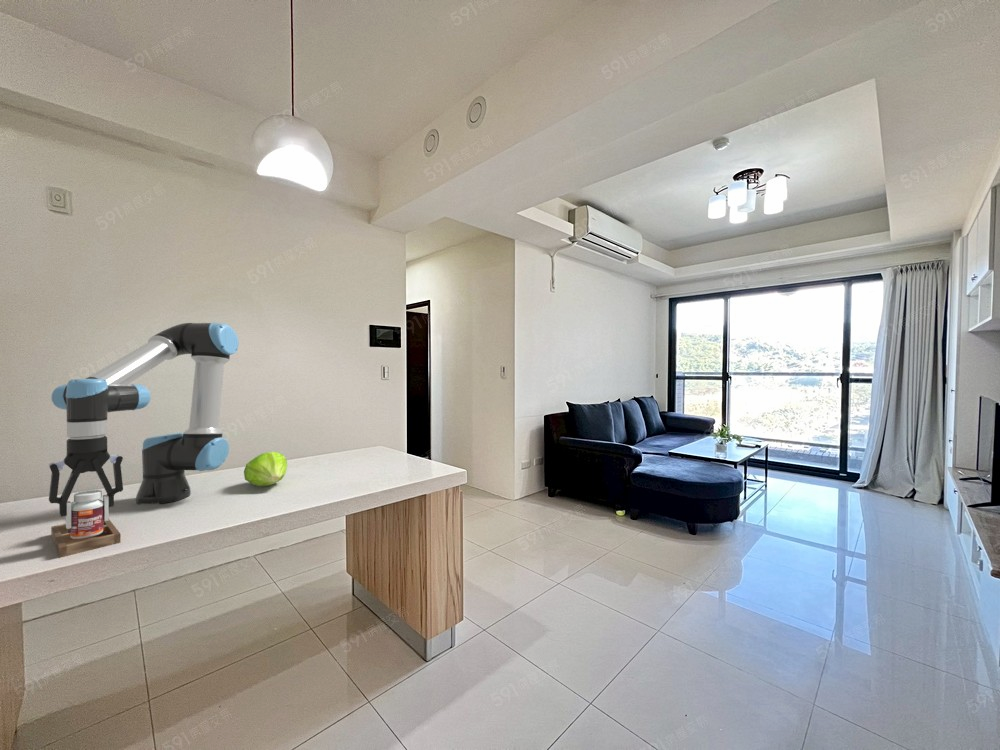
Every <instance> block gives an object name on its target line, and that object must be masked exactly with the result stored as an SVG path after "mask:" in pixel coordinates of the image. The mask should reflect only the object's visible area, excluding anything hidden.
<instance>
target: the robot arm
mask: <svg viewBox="0 0 1000 750" xmlns="http://www.w3.org/2000/svg"><path fill="white" fill-rule="evenodd" d="M238 337H239V336H238V335H237V332H235V330H234V328H232V327H231V326H230V325H228V324H226V323H219V322H197V323H196V322H185V323H180V324H176V325H174V326H171V327H168V328H165V329H164V330H162V331H160V332H158V333H156V334H154V335H152V336H151V337H149V339H148V341H147V343H145V344H143V345H141V346H139V347H138V348H136V349H134V350H133V351H131V352H129V353H128V354H126V355H124V356H122V357H120V358H119V359H117V360H115V361H114V362H112V363H110V364H108V365H106V366H104V367H103V368H102V369H100V370H98V371H96V372H95V373H92V374H91V375H89V376H88V377H86V378H72V379H70V380H68V382H67V384H61V385H58V386H57V387H56V388H54V389H53V391H52V393H51V402H52V404H53V405H54V406H55V407H56V408H58V409H61V410H66V437H68V439H67V440H66V455H65V458H63V460H62V461H58V462H51V463H49V464H48V467H49V469H50V471H51V475H50V476H51V477H50V483H49V484H50V485H49V493H48V502H49V503H50V504H58V505H59V507H58V508H59V516H60V517H65V524H66V528H67V529H70V528H71V501H70V500H69V499H70V496H71V494H72V491H73V490H74V487H75V485H76V482H77V481H78V478H79V477H80V474H83V473H84V474H85V473H88V472H89V473H90V472H91V473H92V472H95V473H96V474H97V476H98V478H99V480H100V482H101V484H102V487H103V489H104V491H105V492H106V494H103V495H102V501H103V502H104V521H108V520H110V517H109V513H110V512H109V511H110V509H109V508H113V507H114V505H115V495H116V494H117V493H121V492H123V490H124V485H123V475H122V474H123V473H122V465H121V464H122V461H123V459H124V457H123V455H120V454H118V455H113V454H112V455H111V454H110V453H109V452H108V437H107V436H106V435H107V434H108V413H111V412H123V411H124V412H125V411H135V410H140V409H144V408H145V407H147V406H148V405H149V403H150V402H151V392H150V390H149V389H148V388H147V387H146V386H145V385H143V384H135V383H134V384H133V383H132V382H133V381H135V380H136V379H138V378H140V377H142V376H143V375H145V374H146V373H148V372H149V371H150V370H153V368H156V366H158V365H161V364H162V363H163V362H165V361H167V360H169V361H170V360H173V359H175V358H177V357H179V356H183V355H190V357H191V359H192V360H193V361H194V362H195V366H194V376H193V377H194V378H193V387H192V396H191V407H190V415H189V423H188V424H189V427H188V428H187V429H186V430H185V431H183V432H177V433H167V434H163V435H162V434H160V435H156V436H155V435H154V436H150V437H147V438H145V439H144V440H143V442H142V449H141V453H142V455H141V456H142V458H141V459H142V461H141V462H142V480H141V484H140V486H139V488H138V491H137V493H136V497H135V503H136V504H137V505H142V504H143V505H149V504H150V505H151V504H152V505H153V504H159V505H161V504H167V503H173V502H176V501H180V500H184V499H185V498H188V497H190V496H191V494H192V493H191V492H192V491H191V489H192V488H191V486H190V484H189V481H188V479H187V477H186V475H185V474H186V473H185V471H199V472H205V471H213V470H216V469H218V468H219V467H221V466H222V465H223V463H225V461H226V460H227V459H228V456H229V452H230V445H229V442H228V440H227V439H226V438H225V437H224V438H223V435H224V434H223V431H222V430H220V428H219V423H220V412H221V402H222V392H223V382H224V381H223V380H224V371H225V370H224V369H225V364H226V363H228V362H230V358H231V357H230V356H232V355H234V354H236V352H237V351H238V349H239V338H238ZM131 383H132V384H131ZM109 460H110V463H111V464H112V469H113V478H114V487H112V485H111V483H110V481H109V479H108V477H107V475H106V473H105V471H104V468H103V466H104V465H105V464H106V463H107V462H108V461H109ZM64 466H67V467H68V468H70V469H71V472H70V474H69V477H68V480H67V482H66V484H65V486H64V488H63V491H62V493H61V495H60V497H58V492H59V484H60V475H61V474H60V471H62V470H63V469H64Z"/></svg>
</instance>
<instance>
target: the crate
mask: <svg viewBox="0 0 1000 750" xmlns="http://www.w3.org/2000/svg"><path fill="white" fill-rule="evenodd" d="M50 527H51V528H50V531H51V532H50V533H51V534H50V535H51V539H52V540H53V541H52V542H53V544H54V546H55V548H56V551H57V555H58V557H59V559H60V558H65V557H68V556H72V555H73V556H74V555H76V554H80V553H84V552H88V551H94V550H97V549H100V548H105V547H108V546H112V545H113V546H114V545H116V544H120V543H121V532H120V531H119V530H118V528H117V527H116V526H115V525H114V523H112V521H111V519H109V520H108V521H104V523H103V532H102V533H101V534H99V535H97V536H93V537H89V538H84V539H72V538H71V537H70V533H68V529H67V528H66V523H63V524H58V525H52V526H50Z"/></svg>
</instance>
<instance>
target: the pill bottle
mask: <svg viewBox="0 0 1000 750" xmlns="http://www.w3.org/2000/svg"><path fill="white" fill-rule="evenodd" d="M102 498H103V495H102V490H100V489H94V490H93V489H92V490H85V491H81V492H80V491H79V492H77V493H74V495H73V502H76V503H75V504H73V505H72V507H71V528H70V537H71V538H72V539H84V538H89V537H93V536H97V535H99V534H101V533H102V532H103V523H104V502H103V499H102Z"/></svg>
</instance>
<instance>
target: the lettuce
mask: <svg viewBox="0 0 1000 750" xmlns="http://www.w3.org/2000/svg"><path fill="white" fill-rule="evenodd" d="M287 461H288V460H287V458H286V457H285V456H284V454H283V453H280V452H277V451H269V452H264V453H261V454H259V455H256V456H255V457H254V458H252V459H251V460H250V461H249V462H247V463H246V464H245V466H244V471H243V476H244V480H245V481H247V482H249V483H250V484H252V485H254V486H256V487H260V488H261V487H268V486H272V485H274V484H276V483H278V482H280V481H281V480H283V479H284V477H285V475H286V473H287V470H288V469H287V468H288V462H287Z"/></svg>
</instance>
